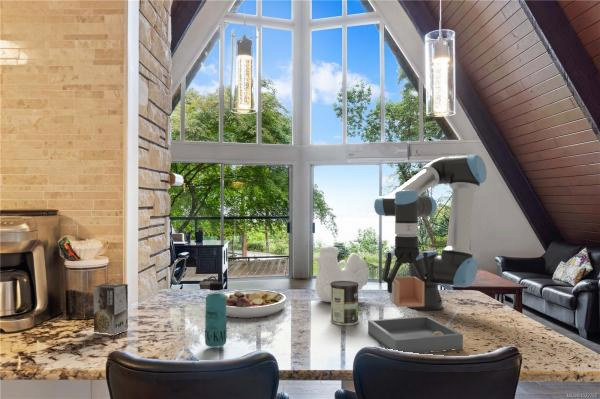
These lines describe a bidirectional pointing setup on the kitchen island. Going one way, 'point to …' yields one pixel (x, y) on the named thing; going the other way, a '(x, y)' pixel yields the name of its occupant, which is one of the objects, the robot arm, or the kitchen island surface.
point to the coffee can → (344, 302)
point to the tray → (414, 334)
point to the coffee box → (110, 308)
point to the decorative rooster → (338, 271)
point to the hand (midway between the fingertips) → (406, 302)
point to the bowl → (253, 303)
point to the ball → (437, 333)
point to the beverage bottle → (215, 316)
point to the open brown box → (408, 292)
